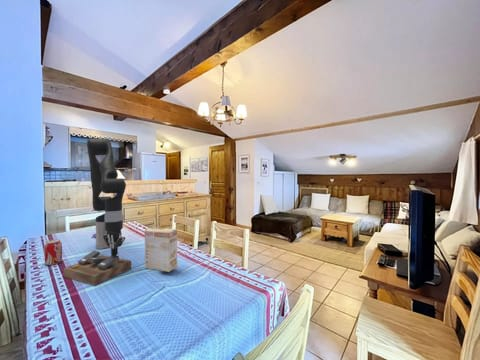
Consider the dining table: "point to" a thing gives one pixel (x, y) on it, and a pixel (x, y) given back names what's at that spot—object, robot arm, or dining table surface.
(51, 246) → the soda can
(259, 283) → the dining table surface
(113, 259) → the rocker
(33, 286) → the dining table surface
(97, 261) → the rocker
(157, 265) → the coffeecake box
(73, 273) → the switch unit
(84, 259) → the rocker
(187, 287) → the dining table surface
